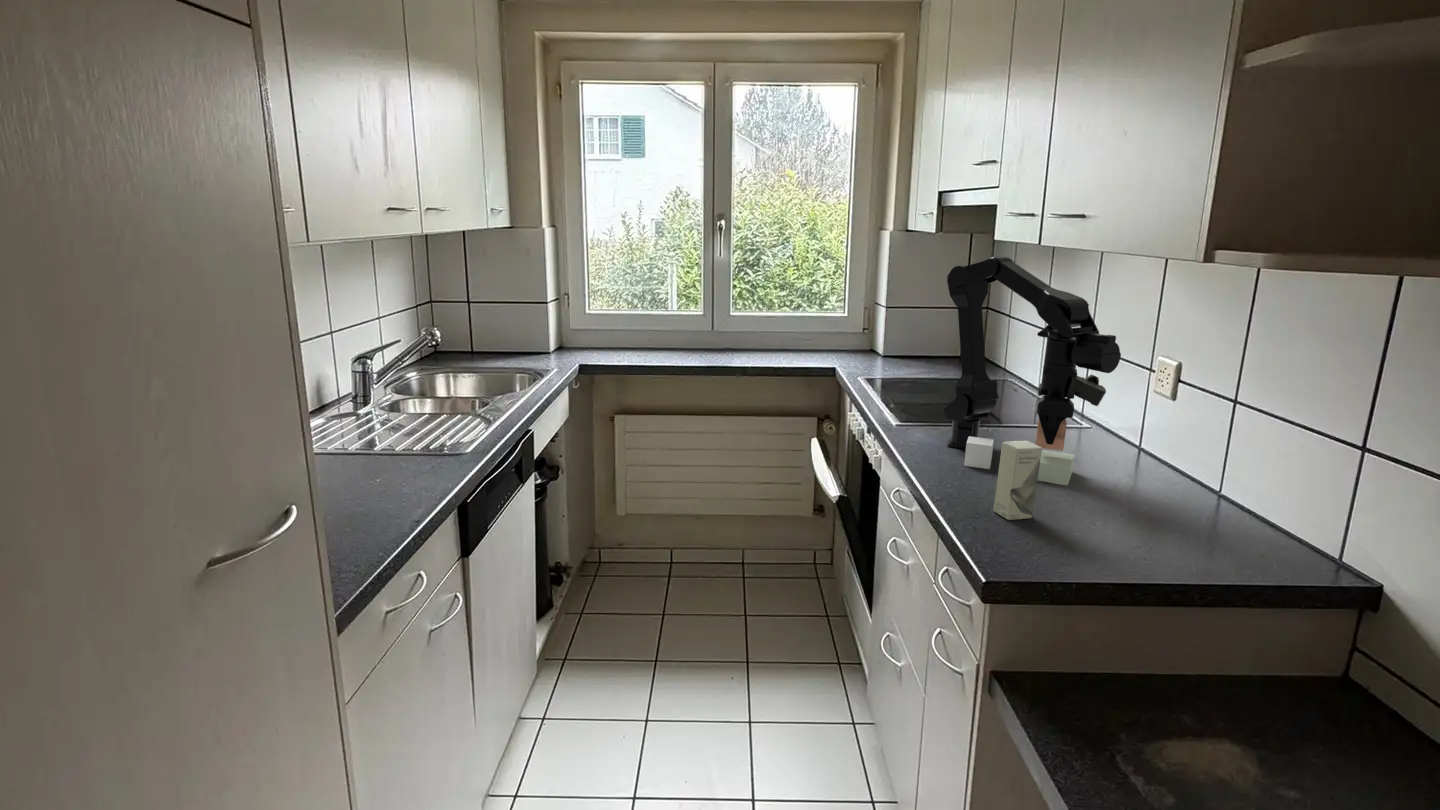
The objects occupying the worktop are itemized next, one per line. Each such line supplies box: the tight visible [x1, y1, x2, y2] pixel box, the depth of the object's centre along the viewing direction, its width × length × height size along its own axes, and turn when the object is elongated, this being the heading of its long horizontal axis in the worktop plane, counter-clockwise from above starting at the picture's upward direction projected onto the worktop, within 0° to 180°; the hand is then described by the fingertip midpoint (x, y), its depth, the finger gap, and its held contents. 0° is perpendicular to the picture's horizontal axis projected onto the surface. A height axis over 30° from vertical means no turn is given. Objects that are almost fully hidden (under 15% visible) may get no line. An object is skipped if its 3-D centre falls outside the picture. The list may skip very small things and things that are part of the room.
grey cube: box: [963, 436, 995, 470], centre depth 159 cm, size 5×5×5 cm
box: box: [992, 440, 1043, 521], centre depth 132 cm, size 5×4×13 cm
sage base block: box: [1037, 449, 1076, 486], centre depth 154 cm, size 9×9×4 cm
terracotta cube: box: [1035, 418, 1067, 451], centre depth 152 cm, size 5×5×5 cm
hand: (1049, 440), depth 153 cm, fingers closed on terracotta cube, 5 cm apart
